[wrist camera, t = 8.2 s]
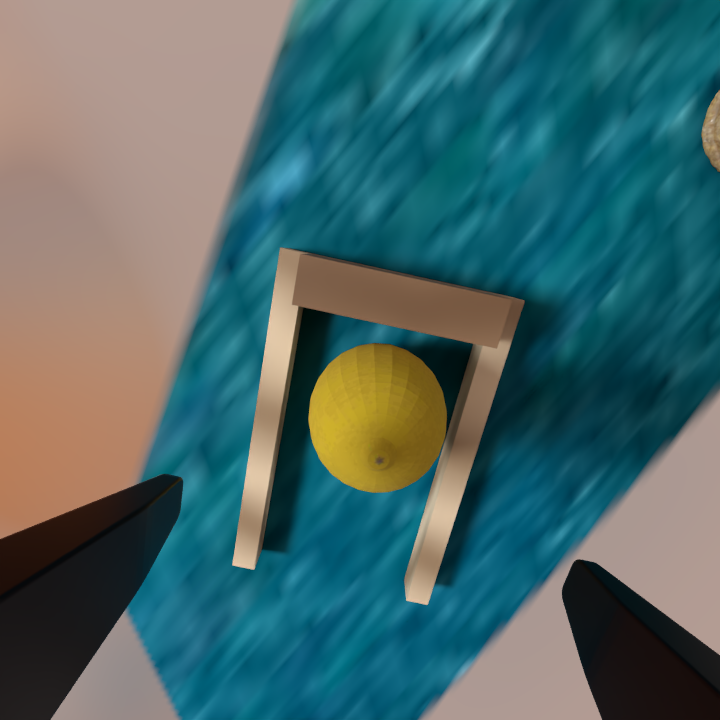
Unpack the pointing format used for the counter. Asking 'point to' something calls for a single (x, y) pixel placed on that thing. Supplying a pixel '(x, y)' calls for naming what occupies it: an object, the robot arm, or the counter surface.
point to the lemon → (377, 418)
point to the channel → (398, 309)
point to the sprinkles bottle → (712, 132)
